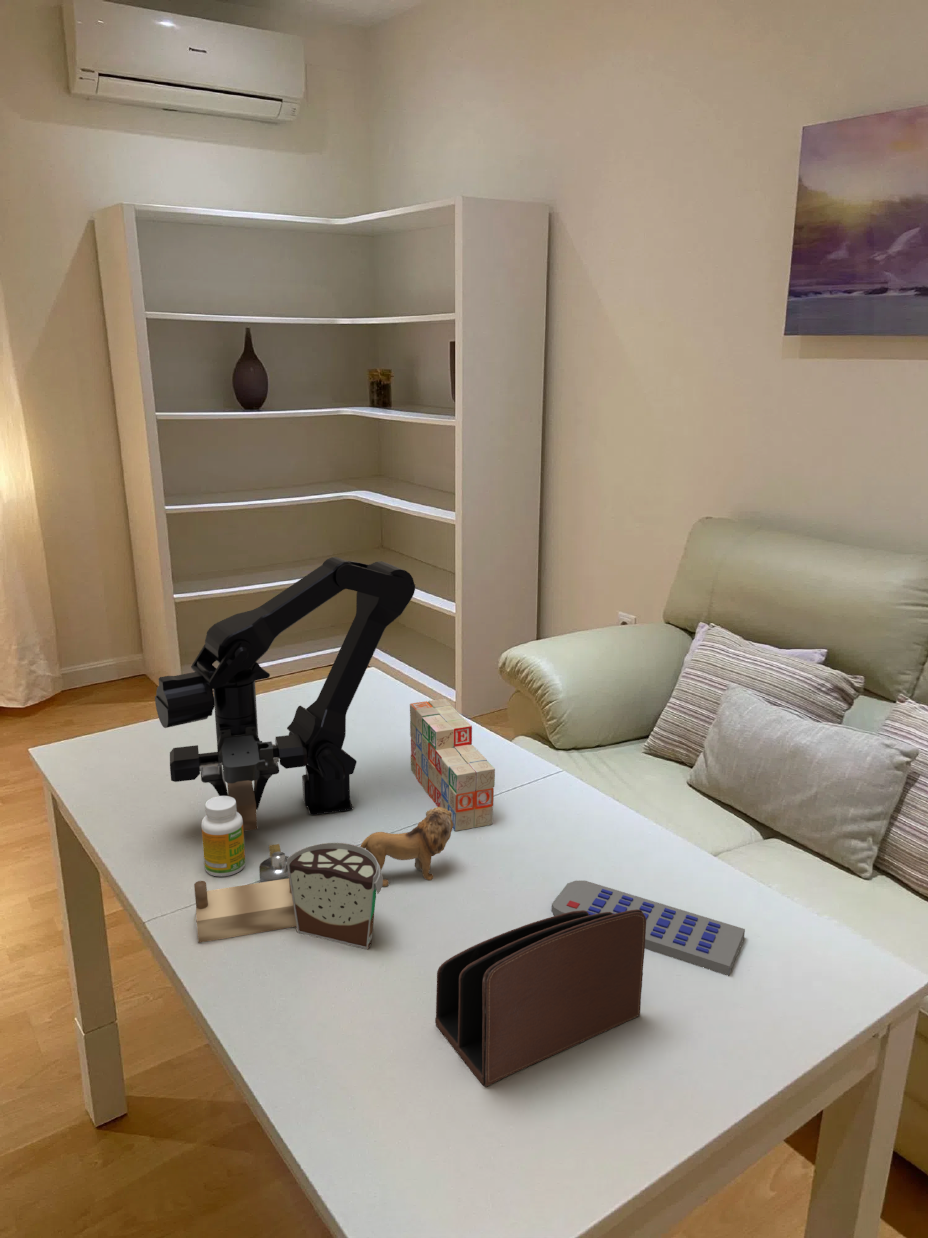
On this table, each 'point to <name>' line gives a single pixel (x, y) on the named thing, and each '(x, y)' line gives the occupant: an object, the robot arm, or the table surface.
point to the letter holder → (541, 989)
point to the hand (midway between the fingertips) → (242, 810)
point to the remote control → (661, 925)
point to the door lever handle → (273, 865)
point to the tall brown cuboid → (244, 802)
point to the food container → (335, 892)
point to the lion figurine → (413, 842)
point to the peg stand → (243, 909)
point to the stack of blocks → (451, 764)
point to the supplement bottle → (223, 837)
